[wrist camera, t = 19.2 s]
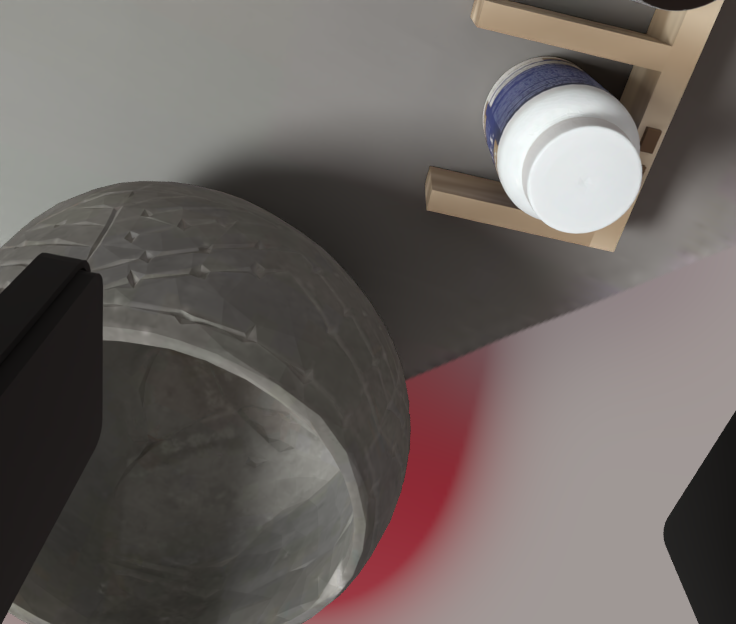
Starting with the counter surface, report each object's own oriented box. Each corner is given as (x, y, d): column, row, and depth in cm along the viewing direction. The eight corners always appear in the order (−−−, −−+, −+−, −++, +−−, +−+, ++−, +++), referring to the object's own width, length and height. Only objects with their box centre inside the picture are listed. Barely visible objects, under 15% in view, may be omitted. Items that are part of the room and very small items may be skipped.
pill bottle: (458, 114, 32) (475, 182, 24) (547, 28, 30) (600, 69, 22) (530, 191, 34) (570, 279, 26) (620, 114, 32) (695, 183, 24)
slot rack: (537, -234, 26) (556, -257, 23) (760, -174, 26) (810, -188, 23) (424, 184, 34) (426, 212, 31) (595, 223, 35) (615, 254, 32)
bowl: (77, 69, 32) (-144, 167, 19) (474, 233, 35) (513, 412, 22) (17, 395, 42) (-156, 604, 29) (330, 501, 45) (300, 732, 32)
